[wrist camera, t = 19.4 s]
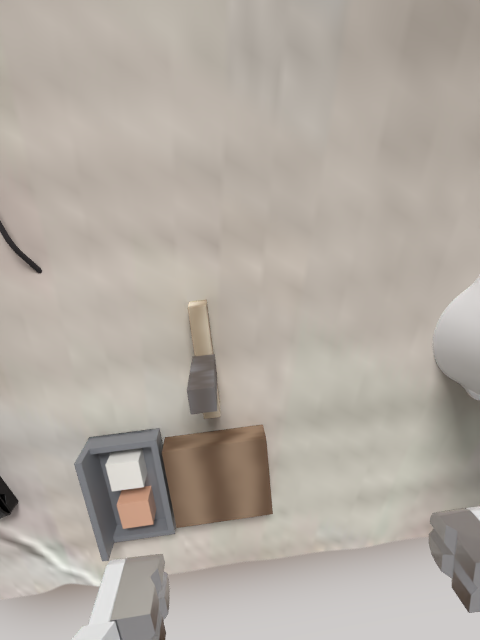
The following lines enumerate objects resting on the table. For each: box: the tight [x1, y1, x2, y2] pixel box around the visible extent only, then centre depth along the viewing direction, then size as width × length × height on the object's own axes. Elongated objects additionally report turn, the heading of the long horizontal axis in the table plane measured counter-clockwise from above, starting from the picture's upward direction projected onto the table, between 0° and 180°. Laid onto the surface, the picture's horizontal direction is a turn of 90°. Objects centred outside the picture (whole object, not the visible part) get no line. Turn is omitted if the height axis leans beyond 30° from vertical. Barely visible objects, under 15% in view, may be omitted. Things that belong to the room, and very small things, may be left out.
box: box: [74, 428, 176, 561], centre depth 43 cm, size 9×15×5 cm, turn 6°
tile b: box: [117, 486, 156, 529], centre depth 45 cm, size 4×4×2 cm
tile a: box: [105, 448, 147, 491], centre depth 43 cm, size 4×4×2 cm
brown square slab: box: [162, 425, 273, 528], centre depth 45 cm, size 13×12×3 cm
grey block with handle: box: [187, 300, 220, 419], centre depth 36 cm, size 2×14×11 cm, turn 6°
